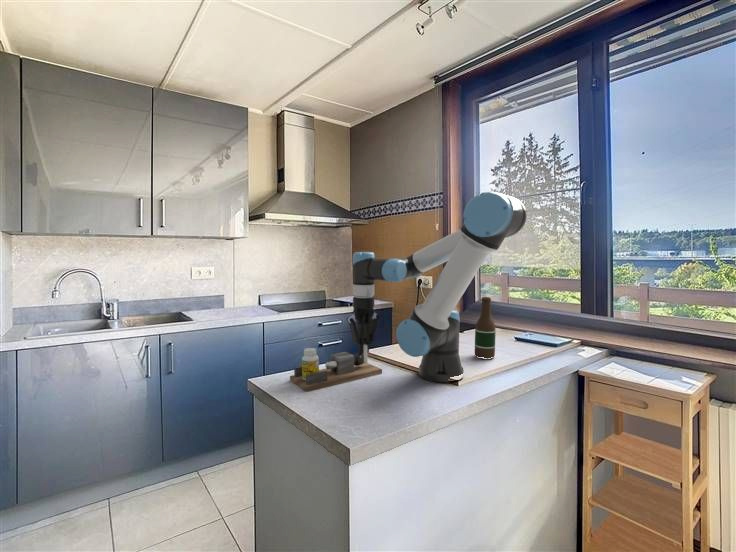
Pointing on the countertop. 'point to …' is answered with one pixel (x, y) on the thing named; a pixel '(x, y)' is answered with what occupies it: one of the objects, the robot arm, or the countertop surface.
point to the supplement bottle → (309, 362)
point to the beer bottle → (485, 331)
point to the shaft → (357, 361)
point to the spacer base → (334, 373)
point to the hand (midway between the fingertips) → (363, 362)
